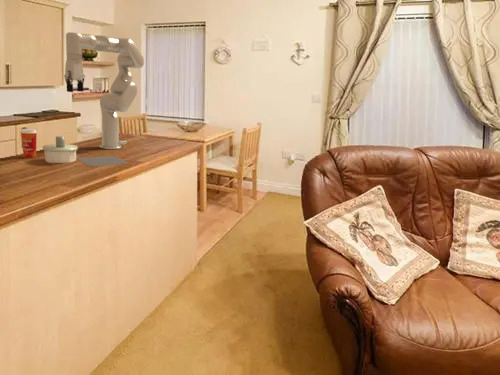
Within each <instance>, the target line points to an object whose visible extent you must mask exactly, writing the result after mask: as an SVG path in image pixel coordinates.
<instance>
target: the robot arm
mask: <svg viewBox="0 0 500 375" xmlns="http://www.w3.org/2000/svg"><path fill="white" fill-rule="evenodd" d="M65 46H66V48H65V50H66V51H65V53H66V59H65V65H64V66H65V67H64V68H65V69H64V75H63V76H64V81H65V84H66V92H67V93H73V92H74V84H73V82H74V81H76V82H77V83H76V88H77V92H84V84H85V83H84V82H85V77H86V76H85V74H84V68H83V67H84V66H83V50H91V51H97V52H103V53H113V54H115V53H116V54H118V55H117V60H116V61H117V65H118V66H117V67H118V74H117V76H116V77H115V79H114V80H113V82H112V84H111V86H110V89H109V90H110V93H105V94H103V95H101V96H100V99H99V105H100V109H101V110H100V112H101V137H102V138H101V144H99V148H100V149H105V150H119V149H121V148H122V145H127V140H120V139H119V138H120V135H119V134H120V132H119V131H120V129H119V127H120V126H119V125H120V123H119V122H120V121H119V120H120V119H119V118H120V117H119V115H118V113H125V112H127V111H128V110H129V109H130V107H131V105H132V103H133V102H134V100H135V99H136V97H137V93H138V87H137V84H136V83H135V82H133V74H132V71H131V69H130V68H132V69H141V68H143V66H144V64H145V58H144V56H143V54H142V52H141V51H140V49H139V48H138V45H136V43H135V42H134V41H133V40H132V39H131V38H125V37H115V36H107V35H92V34H90V33H78V32H72V31H70V32H69V31H68V32H67V33H66V34H65Z"/></svg>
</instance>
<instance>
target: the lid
mask: <svg viewBox="0 0 500 375" xmlns="http://www.w3.org/2000/svg"><path fill="white" fill-rule="evenodd" d="M65 140H66V139H65V136H55V143H52V144H46V145H43V146H42V150H43V151H44V150H45V151H51V152H71V151H76V152H77V151H78V148H79V147H78V146H77V145H74V144H67V143H66V142H65Z"/></svg>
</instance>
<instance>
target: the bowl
mask: <svg viewBox="0 0 500 375" xmlns="http://www.w3.org/2000/svg"><path fill="white" fill-rule="evenodd" d="M43 152H44V159H45V160H44V161H45V162H46V163H49V164H57V163H58V164H64V163H66V164H67V163H72V162H73V163H74V162H75V161H76V160H77V159H76V158H77V150H76V151H71V152H51V151H45V150H43Z"/></svg>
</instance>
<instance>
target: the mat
mask: <svg viewBox="0 0 500 375" xmlns="http://www.w3.org/2000/svg"><path fill="white" fill-rule="evenodd" d="M76 160H79V161H80V162H81V163H83V164H85V165H87V166H89V167H91V168H92V167H103V166H105V167H106V166H114V165H117V166H118V165H129V164H130V163H129V162H127V161H125V160H124V159H121V158H119V157H116V156H115V155H109V156H108V155H107V156H94V157H92V156H91V157H76Z"/></svg>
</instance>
